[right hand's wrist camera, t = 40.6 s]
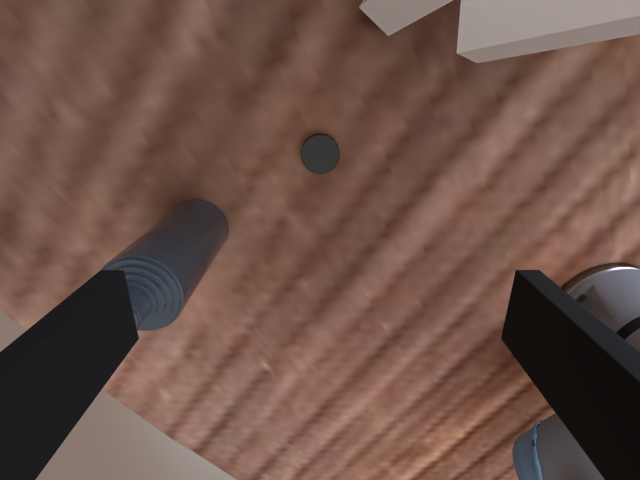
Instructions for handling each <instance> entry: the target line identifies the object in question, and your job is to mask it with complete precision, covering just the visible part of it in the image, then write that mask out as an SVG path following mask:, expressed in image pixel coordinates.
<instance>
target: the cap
mask: <svg viewBox="0 0 640 480" xmlns="http://www.w3.org/2000/svg"><path fill="white" fill-rule="evenodd" d="M339 153H340V152H339V149H338V144H336V142H335V140H334V139H333V138H332V137H330V136H329V135H328V134H327V135H326V134H322V133H318V134H313V135H312V136H310V137H309V138H307V140H306V141H305V142H304V143H303V147H302V150H301V158H302V161H303V164H304V165H305V167H306V168H307V169H308V170H310V171H311V172H314V173H318V174H323V173H327V172H329V171H331V170H332V169H333V168H334V167H335V166H336V164H337V162H338V160H339Z"/></svg>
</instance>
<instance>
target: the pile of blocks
mask: <svg viewBox="0 0 640 480" xmlns="http://www.w3.org/2000/svg"><path fill="white" fill-rule="evenodd" d="M451 1H453V0H363V1H362V3H361V5H360V6H359V8H360V9H361V10H362V11H363V12H364V13H365V14H366V15H367V16H368V17H369V18H370V19H371V20H372V21H373V22H374V23H375V24H376V25H377V26H378V27H379V28H380V29H381V30H383V31H384V32H385V33H386V34H387V35H388V36H389V35H391V34H393V33H395V32H397V31H399V30H400V29H402V28H404V27H406V26H408V25H409V24H411V23H413V22H415V21H417V20H419V19H420V18H422V17H424V16H426V15H428V14H429V13H431V12H433V11H435V10H437V9H439V8H440V7H442V6H444V5H446V4H448V3H449V2H451ZM638 34H640V0H461V6H460V18H459V30H458V41H457V54H459V55H461V56H463V57H465V58H467V59H469V60H471V61H473V62H475V63H482V62H487V61H493V60H498V59H504V58H510V57H515V56H521V55H526V54H532V53H538V52H543V51H549V50H554V49H560V48H565V47H571V46H577V45H582V44H588V43H593V42H599V41H605V40H610V39H616V38H621V37H627V36H633V35H638Z"/></svg>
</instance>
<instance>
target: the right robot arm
mask: <svg viewBox="0 0 640 480" xmlns="http://www.w3.org/2000/svg"><path fill="white" fill-rule="evenodd" d="M138 339H139V337H138V333H137V328H136V323H135V319H134V314H133V309H132V305H131V300H130V296H129V291H128V286H127V282H126V277H125V273H124V270H101V271H99V272H98V273H97V274H96V275H94V276H93V277H92V278H91V279H90V280H88V281H87V282H86V283H85V284H83V285H82V286H81V287H80V288H78V289H77V290H76V291H75V292H74V293H72V294H71V295H70V296H69V297H67V298H66V299H65V300H64V301H63V302H61V303H60V304H59V305H58V306H56V307H55V308H54V309H53V310H52V311H50V312H49V313H48V314H47V315H45V316H44V317H43V318H42V319H40V320H39V321H38V322H37V323H36V324H34V325H33V326H32V327H31V328H29V329H28V330H27V331H26V332H25V333H23V334H22V335H21V336H20V337H18V338H17V339H16V340H15V341H14V342H12V343H11V344H10V345H9V346H7V347H6V348H5V349H4V350H3V351H1V352H0V480H35V479H36V478H37V477H38V475H39V474H40V472H41V471H42V470H43V468H44V467H45V466H46V464H47V463H48V462H49V460H50V459H51V458H52V456H53V455H54V453H55V452H56V451H57V449H58V448H59V447H60V445H61V444H62V443H63V441H64V440H65V438H66V437H67V436H68V434H69V433H70V432H71V430H72V429H73V428H74V426H75V425H76V423H77V422H78V421H79V419H80V418H81V417H82V415H83V414H84V412H85V411H86V410H87V408H88V407H89V406H90V404H91V403H92V402H93V400H94V399H95V398H96V396H97V395H98V393H99V392H100V391H101V389H102V388H103V387H104V385H105V384H106V383H107V381H108V380H109V378H110V377H111V376H112V374H113V373H114V372H115V370H116V369H117V368H118V366H119V365H120V363H121V362H122V361H123V359H124V358H125V357H126V355H127V354H128V353H129V351H130V350H131V348H132V347H133V346H134V344H135V343H136V342H137V340H138ZM501 339H502V340H503V342H504V343H505V344H506V346H507V347H508V348H509V350H510V351H511V353H512V354H513V355H514V357H515V358H516V359H517V361H518V362H519V363H520V365H521V366H522V368H523V369H524V370H525V372H526V373H527V374H528V376H529V377H530V378H531V380H532V381H533V383H534V384H535V385H536V387H537V388H538V389H539V391H540V392H541V393H542V395H543V396H544V398H545V399H546V400H547V402H548V403H549V404H550V406H551V407H552V408H553V410H554V411H555V414H553V415H552V416H550V417H548V418H547V419H545V420H540V421H538V422H536V423H535V425H534V427H532V428H531V429H529V430H528V431H526V432H525V433H523V434H522V435H520V436H519V437H518V438H517V439H516V440H515V442H514V446H513V451H512V456H513V462H514V466H515V470H516V473H517V476H518V479H519V480H640V267H637V266H634V265H630V264H624V263H613V264H606V265H601V266H598V267H595V268H592V269H589V270H587V271H585V272H583V273H581V274H579V275H578V276H576V277H575V278H573V279H572V280H571V281H569V282H568V283H567V284H566V285H565V286H564V287H563V288H560V287H559V286H558V285H557V284H555V283H554V282H553V281H552V280H550V279H549V278H548V277H547V276H546V275H544V274H543V273H542V272H541V271H539V270H516V273H515V277H514V282H513V286H512V291H511V296H510V300H509V305H508V309H507V314H506V319H505V323H504V328H503V333H502V337H501Z"/></svg>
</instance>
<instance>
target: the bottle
mask: <svg viewBox="0 0 640 480" xmlns="http://www.w3.org/2000/svg"><path fill="white" fill-rule="evenodd" d="M227 236H228V223H227V220H226V218H225V216H224V215H223V213H222V212H221V211H220V210H219V209H218V208H217V207H216V206H215V205H213V204H211V203H209V202H207V201H203V200H189V201H186V202H183V203H182V204H180V205H179V206H177V207H176V208H175V209H174V210H173V211H171V212H170V213H169V214H168V215H166V216H165V217H164V218H163V219H161V220H160V221H159V222H158V223H156V224H155V225H154V226H153V227H151V228H150V229H149V230H148V231H146V232H145V233H144V234H143V235H142V236H140V237H139V238H138V239H137V240H135V241H134V242H133V243H132V244H130V245H129V246H128V247H127V248H125V249H124V250H123V251H122V252H120V253H119V254H118V255H117V256H116V257H114V258H113V259H112V260H111V261H109V262H108V263H107V264H106V265H105V266H104V267H103V268H102V270H124V273H125V277H126V282H127V286H128V291H129V296H130V300H131V305H132V309H133V314H134V319H135V323H136V328H137V331H138V330H143V331H147V330H155V329H160V328H163V327H165V326H168V325H169V324H171V323H172V322H173V321H175V320H176V318H177V317H178V316H179V314H180V313H181V311H182V310H183V308H184V307H185V305H186V303H187V302H188V300H189V299H190V297H191V295H192V294H193V292H194V291H195V289H196V287H197V286H198V284H199V283H200V281H201V280H202V278H203V276H204V275H205V273H206V272H207V270H208V268H209V267H210V265H211V264H212V262H213V260H214V259H215V257H216V256H217V254H218V253H219V251H220V249H221V248H222V246H223V245H224V243H225V241H226V239H227Z"/></svg>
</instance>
